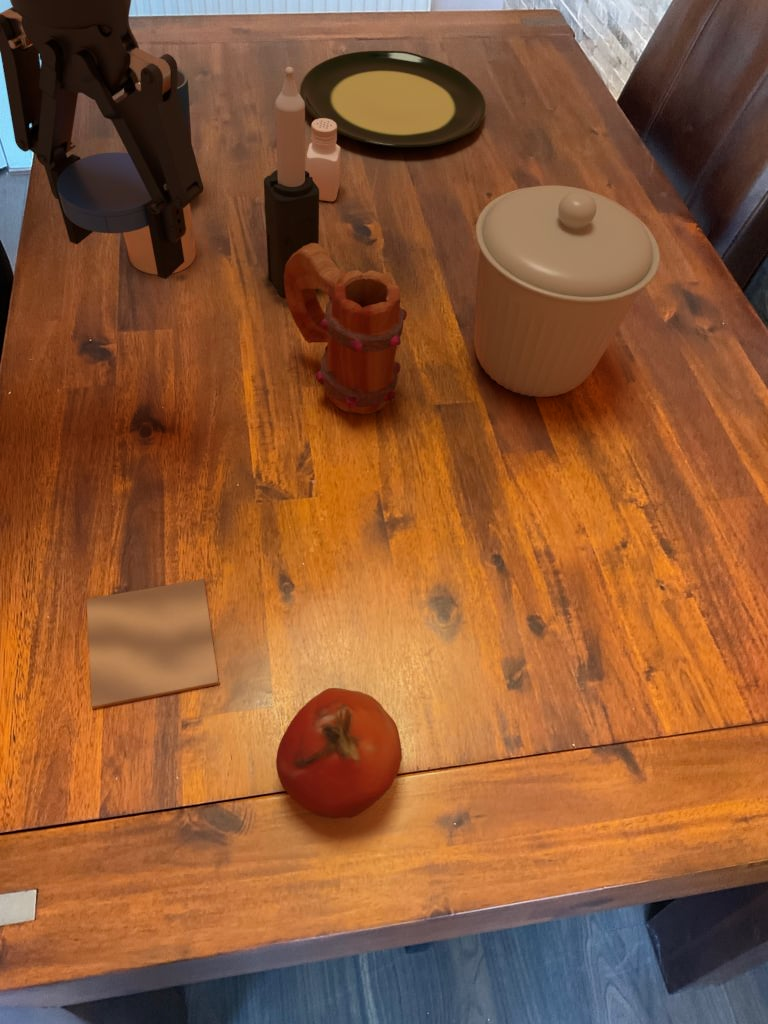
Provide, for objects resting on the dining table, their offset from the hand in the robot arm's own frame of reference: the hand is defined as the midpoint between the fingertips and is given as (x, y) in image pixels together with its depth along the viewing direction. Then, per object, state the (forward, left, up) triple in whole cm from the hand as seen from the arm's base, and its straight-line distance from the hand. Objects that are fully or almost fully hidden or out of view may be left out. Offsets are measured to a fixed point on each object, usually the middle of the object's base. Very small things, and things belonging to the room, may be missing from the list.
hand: (127, 251), depth 67 cm
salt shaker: (-5, +43, -19) cm, 47 cm away
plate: (-7, +68, -19) cm, 71 cm away
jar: (-15, +21, -19) cm, 32 cm away
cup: (-21, +32, -19) cm, 43 cm away
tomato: (+34, -24, -19) cm, 46 cm away
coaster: (+15, -22, -19) cm, 33 cm away
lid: (0, 0, +6) cm, 6 cm away
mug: (+14, +13, -19) cm, 27 cm away
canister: (+31, +27, -19) cm, 45 cm away
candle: (+1, +25, -19) cm, 32 cm away
